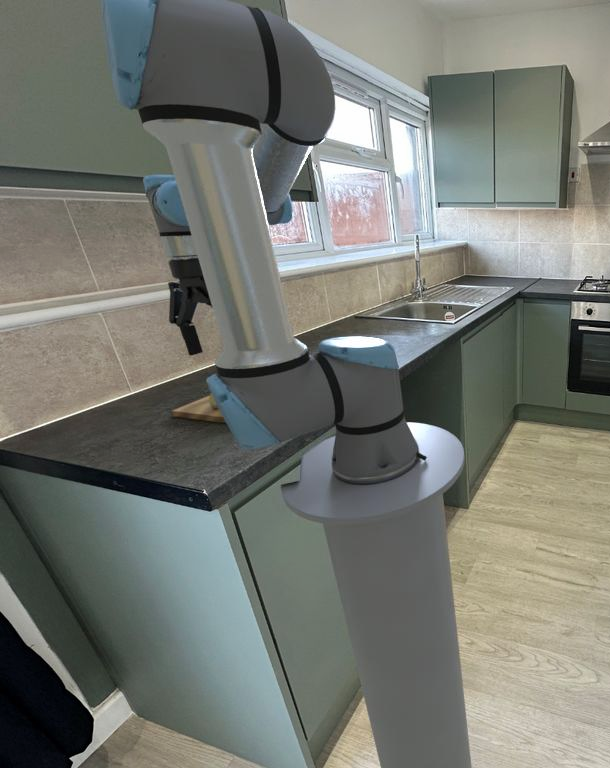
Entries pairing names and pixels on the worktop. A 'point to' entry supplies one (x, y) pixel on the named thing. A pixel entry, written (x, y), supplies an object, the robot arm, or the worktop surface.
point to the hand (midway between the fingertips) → (218, 355)
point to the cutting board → (200, 411)
